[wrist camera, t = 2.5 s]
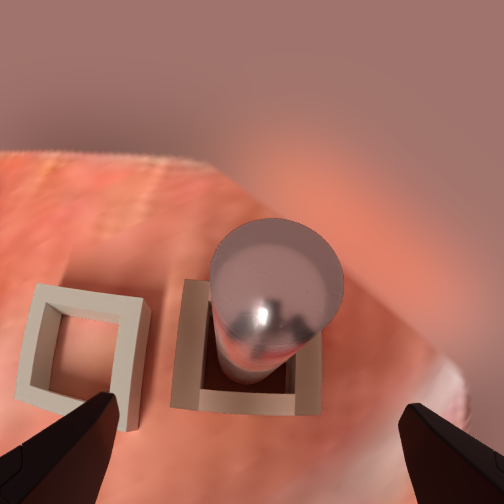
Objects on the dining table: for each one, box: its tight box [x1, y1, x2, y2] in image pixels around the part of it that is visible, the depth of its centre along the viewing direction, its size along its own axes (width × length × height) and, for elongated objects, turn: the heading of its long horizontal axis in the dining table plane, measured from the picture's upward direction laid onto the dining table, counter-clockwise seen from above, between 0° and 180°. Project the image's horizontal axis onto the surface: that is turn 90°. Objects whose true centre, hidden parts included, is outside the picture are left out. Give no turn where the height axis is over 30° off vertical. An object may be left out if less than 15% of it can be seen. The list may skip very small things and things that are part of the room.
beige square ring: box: [170, 279, 322, 416], centre depth 18 cm, size 8×7×3 cm
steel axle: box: [209, 218, 344, 384], centre depth 14 cm, size 4×4×12 cm
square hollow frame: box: [14, 283, 152, 432], centre depth 17 cm, size 8×8×2 cm
